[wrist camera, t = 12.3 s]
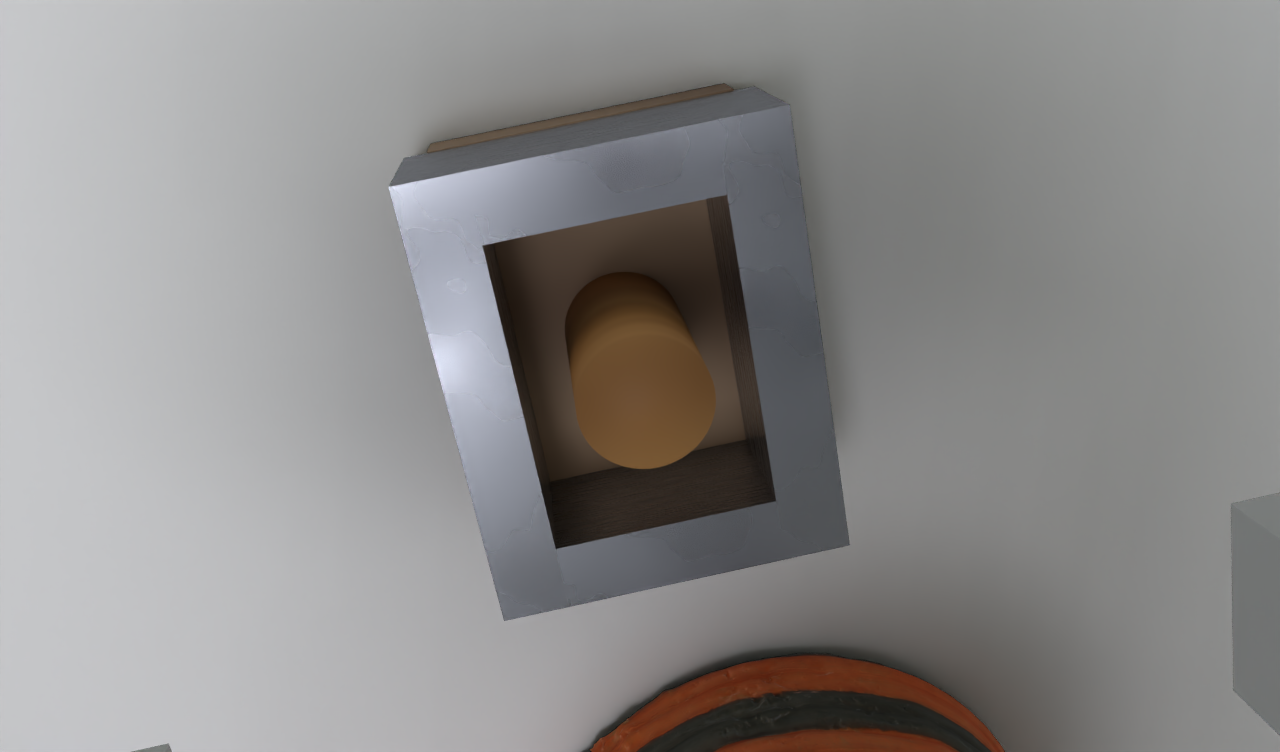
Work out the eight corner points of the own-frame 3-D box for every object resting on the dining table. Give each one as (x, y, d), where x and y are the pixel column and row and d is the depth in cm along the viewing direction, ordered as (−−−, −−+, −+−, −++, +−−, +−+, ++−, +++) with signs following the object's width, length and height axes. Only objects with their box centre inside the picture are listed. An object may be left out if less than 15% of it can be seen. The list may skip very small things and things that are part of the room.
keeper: (783, 462, 30) (847, 581, 25) (524, 519, 30) (528, 652, 24) (724, 83, 27) (782, 117, 21) (430, 144, 27) (407, 195, 21)
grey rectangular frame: (811, 479, 29) (849, 545, 26) (504, 546, 29) (503, 620, 26) (754, 86, 26) (789, 104, 22) (404, 158, 25) (388, 187, 22)
